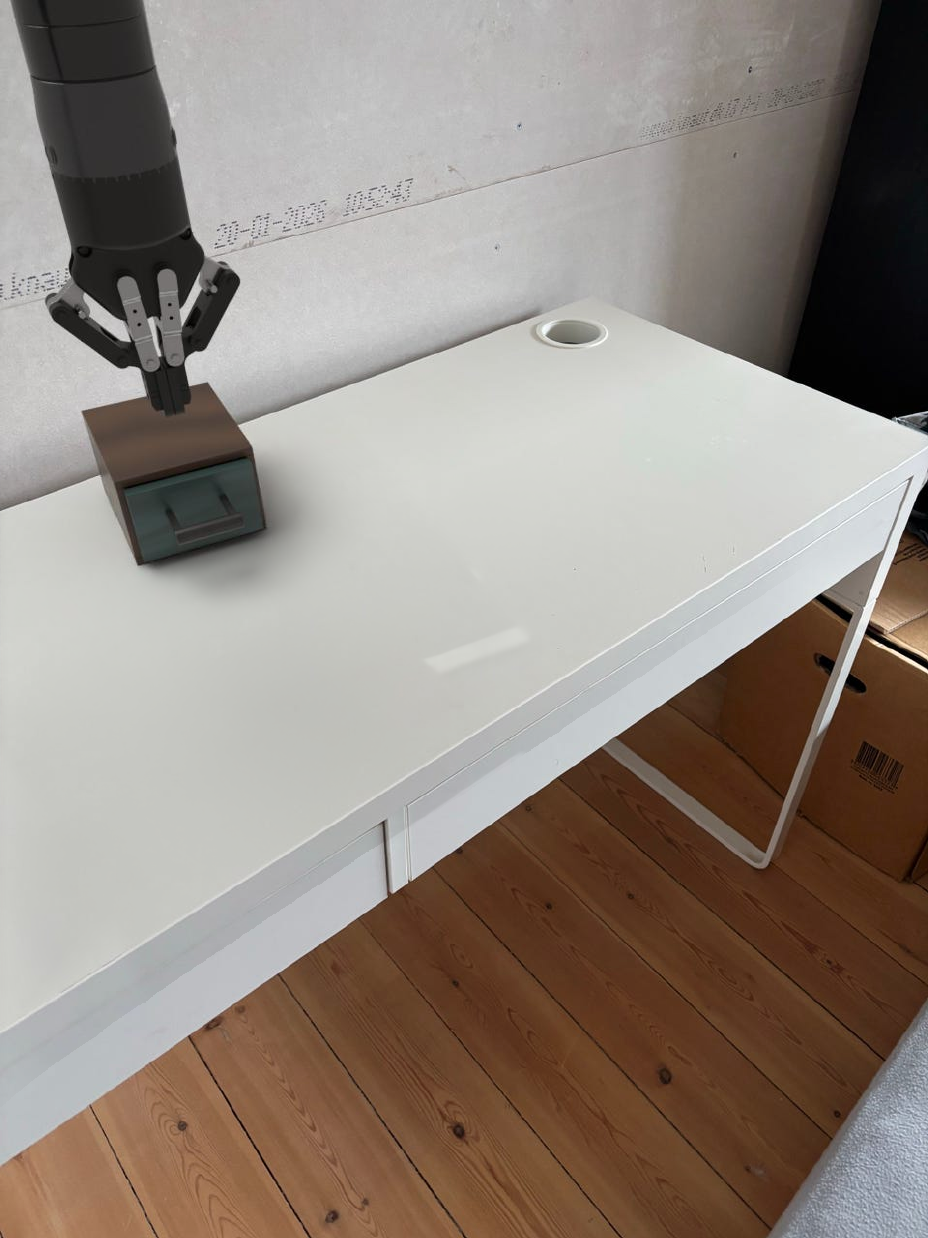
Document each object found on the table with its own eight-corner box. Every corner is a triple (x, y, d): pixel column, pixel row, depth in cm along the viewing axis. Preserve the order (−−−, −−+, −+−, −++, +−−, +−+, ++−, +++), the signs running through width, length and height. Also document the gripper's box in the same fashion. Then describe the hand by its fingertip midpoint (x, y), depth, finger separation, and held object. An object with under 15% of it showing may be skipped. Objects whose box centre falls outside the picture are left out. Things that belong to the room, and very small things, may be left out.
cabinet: (267, 528, 95) (252, 446, 89) (137, 565, 91) (113, 482, 85) (223, 459, 105) (207, 381, 99) (104, 489, 101) (81, 410, 95)
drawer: (280, 555, 90) (269, 489, 86) (157, 592, 87) (139, 524, 82) (222, 463, 103) (210, 400, 98) (113, 491, 99) (94, 427, 94)
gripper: (203, 124, 64) (244, 369, 75) (-11, 153, 59) (68, 410, 71) (237, 152, 59) (277, 411, 70) (7, 186, 54) (88, 458, 65)
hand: (171, 410), depth 70 cm, fingers closed
